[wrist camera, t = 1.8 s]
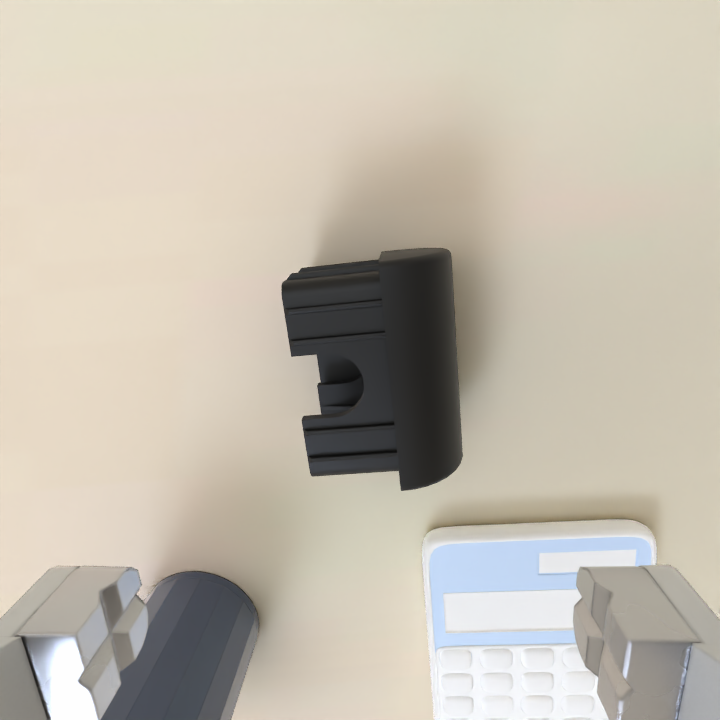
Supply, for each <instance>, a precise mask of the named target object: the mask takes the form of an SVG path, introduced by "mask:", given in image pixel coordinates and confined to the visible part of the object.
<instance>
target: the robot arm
mask: <svg viewBox="0 0 720 720" xmlns="http://www.w3.org/2000/svg"><path fill="white" fill-rule="evenodd" d="M141 585H142V584H141V580H140V576H139V572H138V570H137V569H134V568H132V567H110V566H56V567H54V568H51V569H49V570H48V571H47V572H46V573H45V574H44V575H43V576H42V577H41V578H40V579H39V580H38V581H37V582H36V583H35V584H34V585H33V586H32V587H31V588H30V589H29V590H28V591H27V592H26V593H25V594H24V595H23V596H22V597H21V598H20V599H19V600H18V601H17V602H16V603H15V604H14V605H13V606H12V607H11V608H10V609H9V610H8V611H7V612H6V613H5V614H4V615H3V616H2V617H1V618H0V720H101V718H102V716H103V715H104V713H105V711H106V709H107V708H108V706H109V704H110V703H111V701H112V699H113V697H114V696H115V694H116V692H117V691H118V689H119V687H120V685H121V679H120V672H121V671H122V670H123V669H125V668H126V667H127V666H128V665H130V664H131V663H132V662H134V661H135V659H136V658H137V656H138V654H139V652H140V650H141V648H142V647H143V644H144V640H145V637H146V633H147V630H148V611H147V606H146V604H145V603H144V602H143V601H142V600H141V599H140V598H139V597H138V596H137V595H136V593H137V592H138V590H139V588H140V587H141ZM576 587H577V589H578V591H579V593H580V595H581V597H582V598H581V599H580V600H579V601H578V602H577V603H576V604H575V605H574V612H573V626H574V634H575V640H576V643H577V647H578V650H579V653H580V655H581V658H582V660H583V662H584V665H585V667H586V668H588V669H589V670H590V671H591V672H592V673H594V674H595V675H596V676H597V677H598V685H597V694H598V696H599V698H600V701H601V703H602V705H603V707H604V709H605V712H606V714H607V716H608V718H609V720H720V619H719V618H718V617H717V616H716V615H715V614H714V612H713V611H712V610H711V609H710V608H709V606H708V605H707V604H706V603H705V602H704V601H703V599H702V598H701V597H700V596H699V595H698V593H697V592H696V591H695V590H694V589H693V588H692V586H691V585H690V584H689V583H688V582H687V580H686V579H685V578H684V577H683V576H682V575H681V573H680V572H679V571H678V570H677V569H676V568H674V567H672V566H671V565H641V566H603V567H580V568H579V571H578V573H577V580H576Z"/></svg>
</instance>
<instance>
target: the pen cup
mask: <svg viewBox="0 0 720 720" xmlns="http://www.w3.org/2000/svg"><path fill="white" fill-rule="evenodd" d="M143 602H144V603H145V604H146V606H147V611H148V630H147V633H146V637H145V640H144V644H143V647H142V648H141V650H140V652H139V654H138V656H137V658H136V659H135V661H134V662H132V663H131V664H130V665H128V666H127V667H126V668H125V669H123V670H122V671H121V672H120V679H121V685H120V687H119V689H118V691H117V692H116V694H115V696H114V697H113V699H112V701H111V703H110V704H109V706H108V708H107V709H106V711H105V713H104V715H103V716H102V718H101V720H231V718H232V715H233V712H234V709H235V706H236V702H237V699H238V696H239V693H240V690H241V687H242V684H243V681H244V678H245V675H246V671H247V668H248V665H249V662H250V659H251V656H252V653H253V650H254V647H255V644H256V641H257V637H258V632H259V619H258V615H257V612H256V609H255V607H254V605H253V603H252V602H251V600H250V599H249V597H248V596H247V595H246V594H245V593H244V592H243V591H242V590H241V589H240V588H238V587H237V586H236V585H234V584H233V583H231V582H230V581H228V580H226V579H224V578H222V577H219V576H217V575H213V574H210V573H204V572H183V573H178V574H174V575H171V576H169V577H167V578H165V579H164V580H162V581H161V582H159V583H158V584H157V585H156V586H155V587H154V588H153V590H152V591H151V592H150V594H149V595H148V596H147V597H146V598H145V600H144V601H143Z"/></svg>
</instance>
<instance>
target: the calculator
mask: <svg viewBox="0 0 720 720" xmlns="http://www.w3.org/2000/svg"><path fill="white" fill-rule="evenodd" d="M656 562H657V547H656V540H655V538H654V536H653V534H652V533H651V531H650V530H649V528H648V527H647V526H645V525H644V524H642V523H640V522H638V521H634V520H627V519H611V520H587V521H564V522H541V523H519V524H496V525H473V526H452V527H442V528H437V529H433V530H431V531H430V532H428V533H427V534H426V536H425V538H424V539H423V545H422V566H423V580H424V593H425V606H426V619H427V632H428V646H429V659H430V672H431V685H432V698H433V712H434V720H609V718H608V716H607V714H606V712H605V709H604V707H603V705H602V703H601V701H600V698H599V696H598V694H597V685H598V677H597V676H596V675H595V674H594V673H592V672H591V671H590V670H589V669H588V668H586V667H585V665H584V662H583V660H582V658H581V655H580V653H579V650H578V647H577V643H576V640H575V634H574V626H573V612H574V605H575V604H576V603H577V602H578V601H579V600H580V599H581V598H582V597H581V595H580V593H579V591H578V589H577V587H576V580H577V573H578V571H579V568H580V567H603V566H641V565H656Z"/></svg>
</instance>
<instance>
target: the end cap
mask: <svg viewBox="0 0 720 720" xmlns="http://www.w3.org/2000/svg"><path fill="white" fill-rule="evenodd" d="M282 300H283V306H284V313H285V319H286V325H287V331H288V338H289V344H290V350H291V356H292V357H293V356H304V355H315V354H317V359H318V366H319V373H320V380H321V383H318V385H317V387H318V394H319V401H320V407H321V414H322V415H310V416H303V418H302V425H303V431H304V438H305V444H306V450H307V456H308V462H309V469H310V473H311V476H326V475H341V474H356V473H372V472H387V471H399V476H400V486H401V491H404V490H413V489H418V488H422V487H426V486H429V485H432V484H435V483H437V482H439V481H441V480H443V479H445V478H447V477H448V476H449V475H451V474H452V473H453V472H454V471H455V470H456V469H457V468H458V466H459V465H460V463H461V460H462V457H463V453H462V435H461V417H460V400H459V382H458V364H457V347H456V329H455V311H454V294H453V276H452V259H451V253H450V251H449V250H447V249H443V248H419V249H404V250H393V251H384V252H381V255H380V258H379V260H371V261H361V262H352V263H343V264H334V265H325V266H316V267H307V268H301V270H300V271H299V272H298V273H292V274H291V275H290V276H289V277H288V279H287V280H285V281H284V282H283V283H282Z"/></svg>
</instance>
